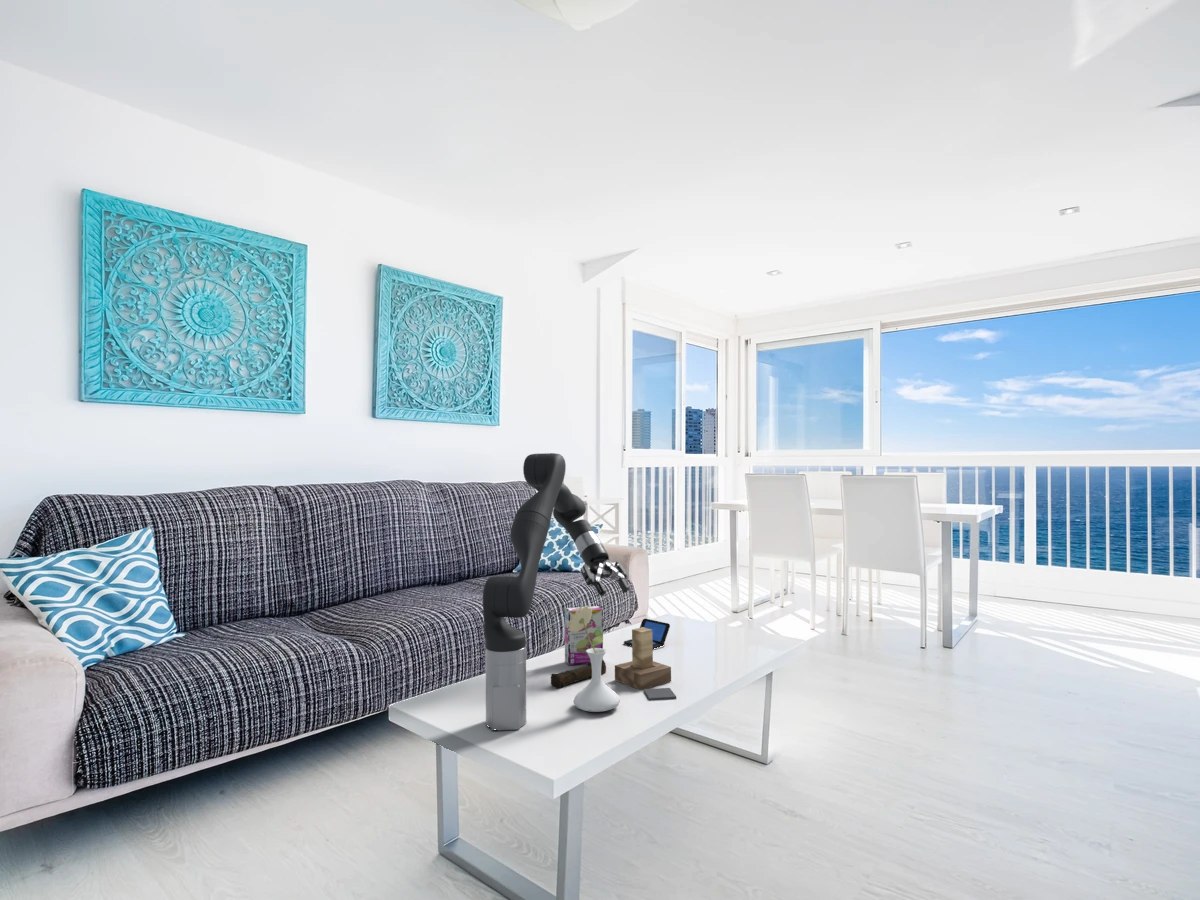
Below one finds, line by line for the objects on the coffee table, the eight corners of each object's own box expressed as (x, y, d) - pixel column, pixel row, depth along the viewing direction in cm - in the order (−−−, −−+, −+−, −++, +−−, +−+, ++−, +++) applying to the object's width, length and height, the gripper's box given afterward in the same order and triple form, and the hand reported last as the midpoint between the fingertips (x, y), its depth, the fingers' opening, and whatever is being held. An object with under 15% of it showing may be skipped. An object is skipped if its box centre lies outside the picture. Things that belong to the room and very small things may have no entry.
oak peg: (653, 681, 174) (652, 629, 175) (642, 684, 172) (641, 631, 173) (643, 677, 178) (642, 627, 178) (632, 680, 175) (631, 629, 176)
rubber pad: (676, 698, 160) (676, 696, 160) (649, 700, 159) (649, 698, 159) (669, 689, 167) (669, 687, 167) (643, 691, 166) (643, 689, 166)
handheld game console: (622, 645, 214) (621, 622, 215) (643, 639, 222) (643, 617, 222) (649, 652, 205) (649, 628, 206) (671, 645, 213) (670, 623, 213)
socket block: (671, 681, 174) (670, 666, 174) (641, 690, 167) (640, 674, 167) (644, 672, 182) (644, 658, 183) (614, 680, 176) (614, 665, 176)
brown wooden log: (558, 690, 168) (558, 672, 168) (549, 687, 171) (549, 669, 172) (612, 676, 180) (611, 659, 181) (602, 673, 184) (602, 656, 184)
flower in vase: (606, 697, 162) (605, 598, 163) (628, 711, 152) (627, 605, 153) (559, 706, 156) (558, 603, 157) (579, 721, 146) (578, 611, 147)
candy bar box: (568, 666, 190) (568, 610, 190) (564, 661, 194) (563, 607, 195) (604, 662, 193) (603, 608, 194) (599, 658, 198) (598, 605, 199)
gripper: (577, 543, 188) (601, 587, 179) (614, 540, 197) (639, 581, 187) (567, 559, 192) (590, 603, 183) (604, 555, 201) (628, 597, 191)
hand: (615, 592), depth 185 cm, fingers open, 8 cm apart
